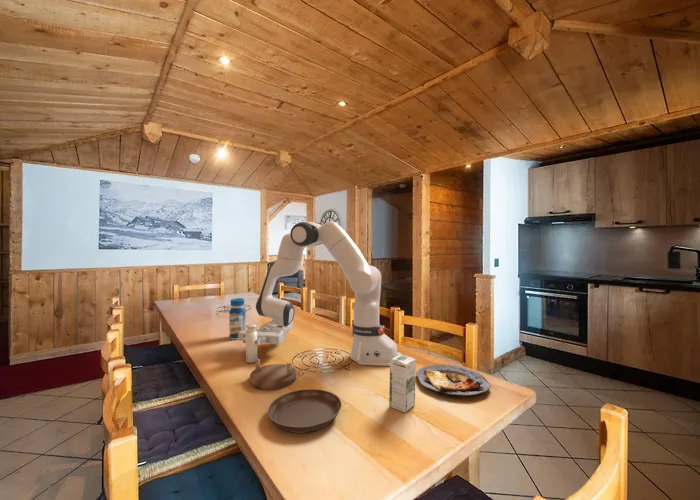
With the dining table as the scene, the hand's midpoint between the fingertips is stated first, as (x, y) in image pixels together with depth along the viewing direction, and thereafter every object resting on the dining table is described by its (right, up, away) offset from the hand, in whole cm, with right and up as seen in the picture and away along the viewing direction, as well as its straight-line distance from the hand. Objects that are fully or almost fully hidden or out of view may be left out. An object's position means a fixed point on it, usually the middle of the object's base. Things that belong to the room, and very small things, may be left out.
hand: (250, 341), depth 128 cm
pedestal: (+13, -9, -16) cm, 23 cm away
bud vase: (0, -8, +1) cm, 8 cm away
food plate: (+77, -9, -19) cm, 80 cm away
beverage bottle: (-17, -8, +34) cm, 39 cm away
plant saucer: (+28, -10, -39) cm, 49 cm away
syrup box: (+57, -9, -34) cm, 67 cm away
